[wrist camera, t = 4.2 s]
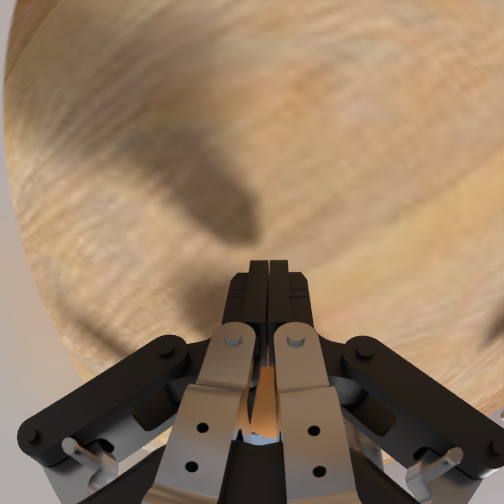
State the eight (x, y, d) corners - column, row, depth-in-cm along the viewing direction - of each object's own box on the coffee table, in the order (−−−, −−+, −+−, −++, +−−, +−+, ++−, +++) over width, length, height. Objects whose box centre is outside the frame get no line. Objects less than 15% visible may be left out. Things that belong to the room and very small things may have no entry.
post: (342, 390, 19) (353, 500, 11) (374, 387, 18) (392, 492, 11) (336, 406, 20) (344, 505, 12) (366, 402, 20) (379, 498, 12)
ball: (236, 447, 14) (240, 373, 18) (327, 443, 14) (320, 368, 18) (216, 422, 11) (225, 327, 15) (343, 417, 10) (328, 320, 14)
